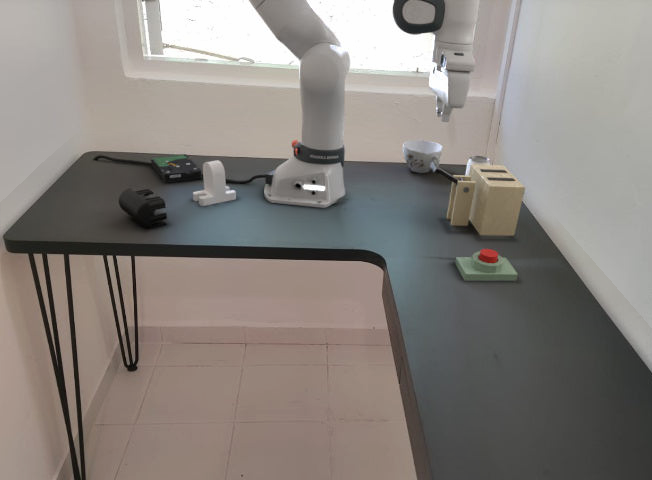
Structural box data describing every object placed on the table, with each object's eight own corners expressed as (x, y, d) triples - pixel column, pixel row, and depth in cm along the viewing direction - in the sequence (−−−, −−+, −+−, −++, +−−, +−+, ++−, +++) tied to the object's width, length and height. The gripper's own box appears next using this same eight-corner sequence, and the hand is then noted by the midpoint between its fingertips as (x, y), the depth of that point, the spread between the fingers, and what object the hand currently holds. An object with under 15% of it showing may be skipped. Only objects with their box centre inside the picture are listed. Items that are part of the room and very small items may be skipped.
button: (481, 264, 130) (483, 256, 129) (476, 255, 133) (477, 248, 132) (499, 264, 131) (500, 257, 130) (493, 255, 134) (494, 248, 133)
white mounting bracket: (236, 199, 157) (235, 162, 151) (202, 206, 151) (199, 167, 145) (226, 192, 160) (224, 156, 154) (192, 199, 154) (189, 161, 149)
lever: (432, 174, 143) (438, 166, 142) (427, 167, 147) (433, 159, 146) (467, 195, 148) (473, 187, 147) (462, 188, 152) (467, 180, 151)
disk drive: (202, 180, 166) (186, 162, 176) (202, 170, 165) (185, 153, 175) (165, 184, 161) (150, 166, 171) (164, 174, 160) (149, 156, 170)
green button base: (464, 280, 129) (467, 266, 128) (455, 263, 136) (457, 249, 134) (516, 281, 131) (519, 267, 130) (504, 264, 138) (507, 250, 136)
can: (476, 205, 168) (484, 164, 162) (457, 198, 171) (464, 158, 165) (487, 199, 173) (495, 159, 166) (468, 193, 176) (475, 153, 169)
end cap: (120, 217, 141) (116, 190, 137) (149, 211, 145) (146, 184, 142) (139, 232, 135) (135, 204, 131) (168, 225, 139) (165, 198, 136)
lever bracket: (449, 232, 151) (457, 184, 144) (441, 219, 157) (448, 172, 150) (471, 232, 152) (480, 184, 145) (463, 220, 158) (471, 173, 151)
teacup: (392, 165, 191) (395, 141, 187) (423, 161, 198) (426, 137, 193) (420, 181, 181) (423, 155, 177) (451, 176, 187) (455, 151, 183)
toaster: (478, 239, 148) (489, 185, 141) (461, 213, 162) (470, 163, 154) (513, 240, 150) (526, 186, 142) (493, 214, 163) (503, 164, 156)
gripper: (427, 46, 139) (419, 106, 147) (448, 62, 122) (439, 130, 130) (453, 48, 140) (444, 108, 148) (478, 64, 124) (466, 131, 131)
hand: (442, 118), depth 139 cm, fingers open, 3 cm apart
